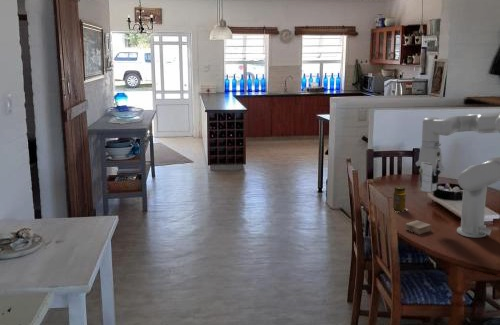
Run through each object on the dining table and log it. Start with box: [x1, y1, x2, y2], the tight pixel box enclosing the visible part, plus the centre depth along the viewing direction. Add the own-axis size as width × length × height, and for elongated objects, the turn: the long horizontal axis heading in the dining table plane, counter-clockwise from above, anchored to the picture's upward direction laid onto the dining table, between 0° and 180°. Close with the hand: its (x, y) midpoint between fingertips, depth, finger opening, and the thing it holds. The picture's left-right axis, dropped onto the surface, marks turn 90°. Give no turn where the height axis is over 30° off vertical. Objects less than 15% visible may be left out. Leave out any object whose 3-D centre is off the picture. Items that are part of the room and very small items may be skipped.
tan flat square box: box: [404, 219, 432, 236], centre depth 237 cm, size 8×8×3 cm
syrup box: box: [419, 161, 438, 193], centre depth 239 cm, size 6×6×14 cm
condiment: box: [392, 186, 409, 214], centre depth 266 cm, size 7×8×12 cm
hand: (428, 181), depth 240 cm, fingers closed on syrup box, 6 cm apart
